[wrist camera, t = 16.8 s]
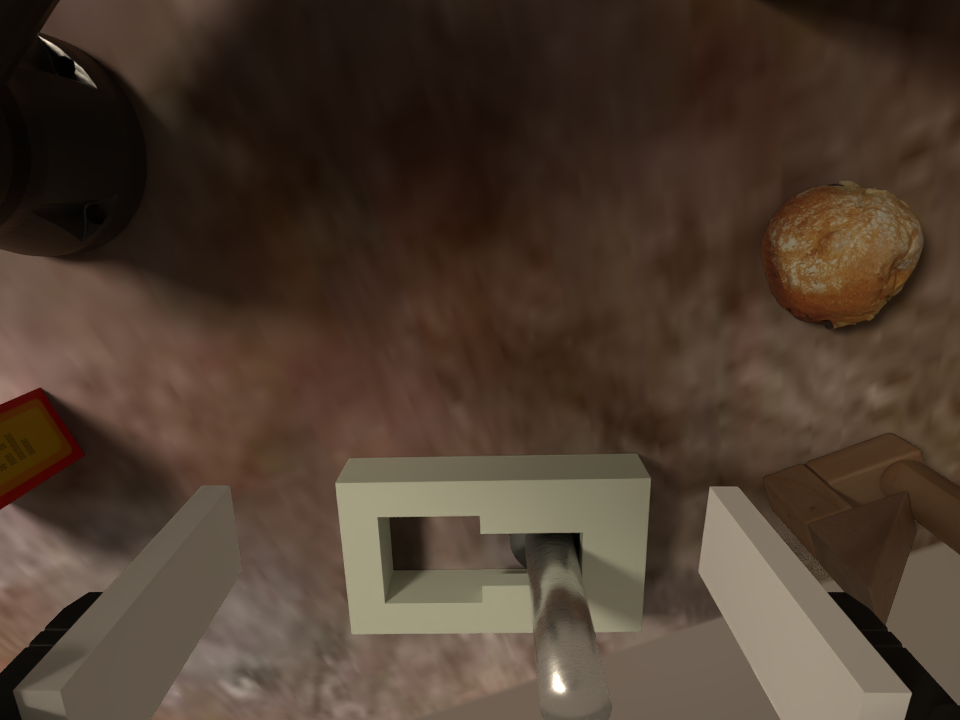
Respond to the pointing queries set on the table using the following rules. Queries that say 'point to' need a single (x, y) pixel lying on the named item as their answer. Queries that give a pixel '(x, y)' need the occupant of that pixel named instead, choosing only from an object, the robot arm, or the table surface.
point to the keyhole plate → (502, 509)
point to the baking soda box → (32, 445)
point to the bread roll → (840, 252)
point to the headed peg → (562, 628)
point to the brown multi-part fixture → (866, 513)
